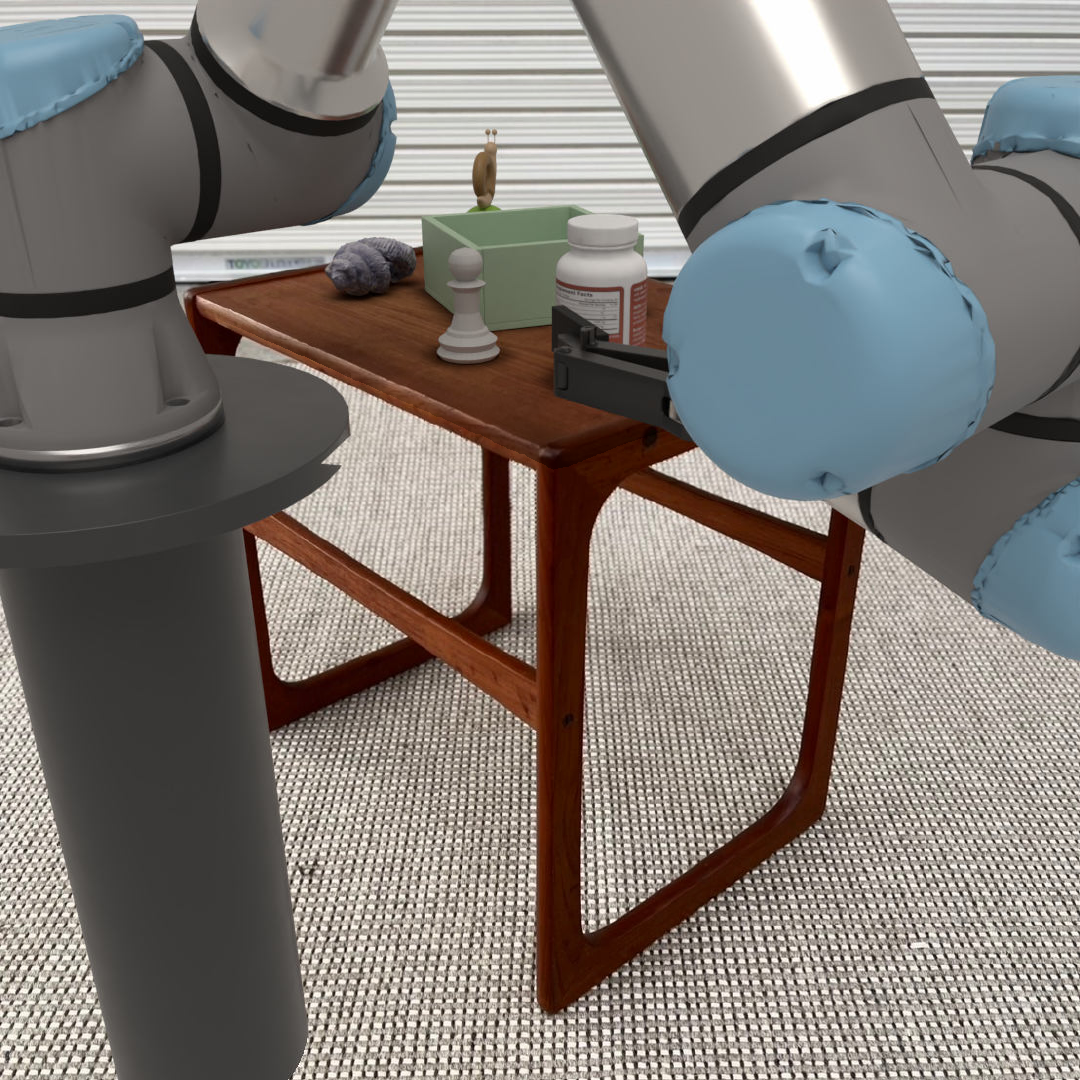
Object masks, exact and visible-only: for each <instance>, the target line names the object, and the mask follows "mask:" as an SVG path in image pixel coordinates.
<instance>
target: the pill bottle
mask: <svg viewBox="0 0 1080 1080" xmlns="http://www.w3.org/2000/svg"><path fill="white" fill-rule="evenodd" d="M638 233H639V220H638V219H637V218H635V217H633V216H629V215H625V214H624V215H623V214H615V213H613V214H612V213H595V214H592V215H582V216H577V217H574V218H571V219H569V220H568V224H567V239H568V244H569V245H571V250H570V252H568V253H566V254H565V255H563V256H562V257H561V258H560V260H559V261H558V264H557V268H556V306H559V305H564V306H566V307H568V308H569V309H571V310H572V311H574V312H575V313H577V314H578V315H580V316H582V317H583V318H585V319H586V320H588V321H589V322H591V323H592V324H594V325H596V326H597V327H599V328H600V329H602V330H603V331H605V332H607V333H608V334H609V342H613V343H619V344H626V345H633V346H639V347H646V348H647V346H646V343H647V342H646V341H647V340H646V339H647V338H646V337H647V313H648V312H647V308H648V307H647V306H648V305H647V304H648V280H649V279H648V265H647V262H646V260H645V258H644V256H643V257H642V256H641V255H640V254H638V253H637V252H635V251H634V249H633V246H634V245H636V244H637V239H638Z"/></svg>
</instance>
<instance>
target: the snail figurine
mask: <svg viewBox="0 0 1080 1080" xmlns="http://www.w3.org/2000/svg"><path fill="white" fill-rule="evenodd" d="M484 133H485V135H487V142H486V144H485V145H484V148H483V151H479V153H477V154H476V156H475V158H474V161H473V166H472V171H471V181H472V189H473V190H472V191H473V193H474V195H475V197H476V205H475V206H473V207H471V208H469V209H468V210H467V211H466V212H465V213H470V212H483V211H496V210H502V209H501V207H499V206H496V205H493V204H492V203H493V200H494V197H495V193H496V184H497V173H498V172H497V171H498V170H497V168H498V166H497V153H498V147H497V144H496V135H497V134H498V130H497V129H494V128H493V129H492V130H491V129H489V128H486V129H485V132H484ZM490 135H493V137H494V138H493V139H494V140H493V141H489V140H490V139H489V136H490Z"/></svg>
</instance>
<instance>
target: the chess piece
mask: <svg viewBox="0 0 1080 1080" xmlns="http://www.w3.org/2000/svg"><path fill="white" fill-rule="evenodd" d="M448 266H449V270H450V272H451V274H452V275H453V276H454V277H455V278H456V279H455V280H452V281H449V282H448V283H447V285H448V286H449V287H450V288H451V289H452V290H453V294H454V305H455V313H454V314H453V317H452V320H451V324H450V326H448V327H447V329H446V331H445V332H444V333H442V334H441V335H440V336H439V337H438V343H439V345H440V346H439V347H438V348H437V349H436V353H437V355H438V357H440V359H441V360H443V361H446V362H448V363H453V364H462V365H464V364H466V365H468V364H469V365H470V364H471V365H472V364H480V363H485V362H489V361H493V360H494V359H496V358H497V357H498V355H499V354H500V352H501V350H500V347H498V345H497V344H496V343H497V342H498V336H497V335H496V334H494V333H493V331H489V330H488V327H486V326H485V325H484V323H483V320H482V317H481V315H480V312H479V298H480V289H481V288H482V287H483V286H484V285H485V282H484V281H482V280H479V279H476V278H477V277H478V276H479V274H480V273H481V271H482V268H483V259H482V257H481V255H480V253H479V252H478V251H476V250H474V249H471V248H466V247H464V248H460V249H457V250H455V251H453V252H452V253H451V255H450V257H449V260H448Z"/></svg>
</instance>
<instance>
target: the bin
mask: <svg viewBox="0 0 1080 1080" xmlns="http://www.w3.org/2000/svg"><path fill="white" fill-rule="evenodd" d="M592 214H596V213H595V212H592V211H590V210H588V209H586V208H583V207H581V206H579V205H576V204H567V205H566V204H565V205H564V204H563V205H550V206H538V207H524V208H510V209H501V210H496V211H483V212H470V213H466V212H457V213H446V214H445V213H443V214H431V215H422V216H421V217H420V219H421V236H422V237H421V238H422V255H423V256H422V257H423V258H422V259H423V276H424V277H423V278H424V279H423V280H424V291H425V292H426V293H427V294H429V295H430V296H431V297H432V298H433V299H434V300H436V301H437V303H439V304H440V305H441V306H443V307H444V308H445V309H446V310H448V311H449V312H450V313H451V314H453V315H454V313H455V305H454V294H453V290H452V289H451V288H450V287H449V286H448V285H447V283H448V282H449V281H452V280H455V279H456V278H455V277H454V276H453V275H452V274H451V272H450V270H449V266H448V260H449V257H450V255H451V253H452V252H453V251H455V250H457V249H460V248H464V247H466V248H471V249H474V250H476V251H478V252H479V253H480V255H481V257H482V259H483V268H482V271H481V273H480V274H479V276H478V277H477V278H476V279H479V280H482V281H484V282H485V285H484V286H483V287H482V288H481V289H480V298H479V312H480V315H481V317H482V320H483V323H484V325H485V326H486V327H488V330H489V331H490V332H495V331H505V330H513V329H514V330H515V329H523V328H533V327H541V326H550V325H551V326H552V306H556V268H557V264H558V261H559V260H560V258H561V257H562V256H563V255H565V254H566V253H568V252H570V250H571V245H569V244H568V239H567V224H568V220H569V219H571V218H574V217H577V216H582V215H592ZM633 249H634V251H635V252H637V253H638V254H640V255H641V256H642V257H643V258H644V249H645V234H643V233H641V232H638V239H637V244H636V245H634V246H633Z"/></svg>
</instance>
